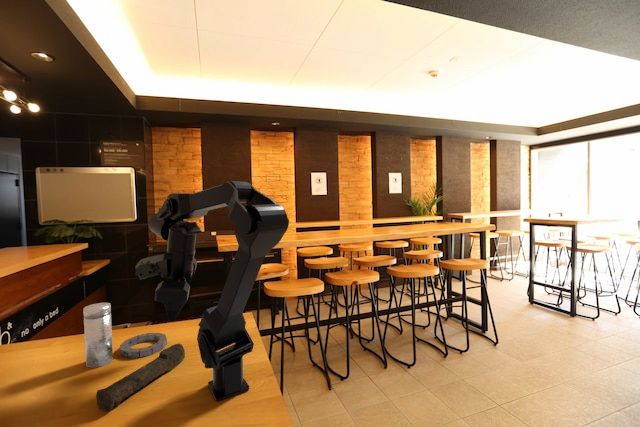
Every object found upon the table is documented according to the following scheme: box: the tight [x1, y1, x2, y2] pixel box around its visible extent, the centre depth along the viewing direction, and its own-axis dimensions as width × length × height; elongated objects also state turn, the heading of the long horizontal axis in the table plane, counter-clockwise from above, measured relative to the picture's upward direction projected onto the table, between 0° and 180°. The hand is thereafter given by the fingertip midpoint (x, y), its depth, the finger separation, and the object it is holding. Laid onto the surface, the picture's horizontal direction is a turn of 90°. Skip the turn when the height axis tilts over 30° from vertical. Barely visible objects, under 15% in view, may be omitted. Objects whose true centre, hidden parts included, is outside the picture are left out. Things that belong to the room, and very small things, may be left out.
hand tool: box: [95, 343, 186, 412], centre depth 63 cm, size 19×4×5 cm, turn 157°
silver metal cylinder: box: [82, 302, 114, 369], centre depth 70 cm, size 5×5×13 cm
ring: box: [119, 332, 168, 359], centre depth 77 cm, size 10×10×2 cm
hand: (175, 310), depth 72 cm, fingers open, 9 cm apart
